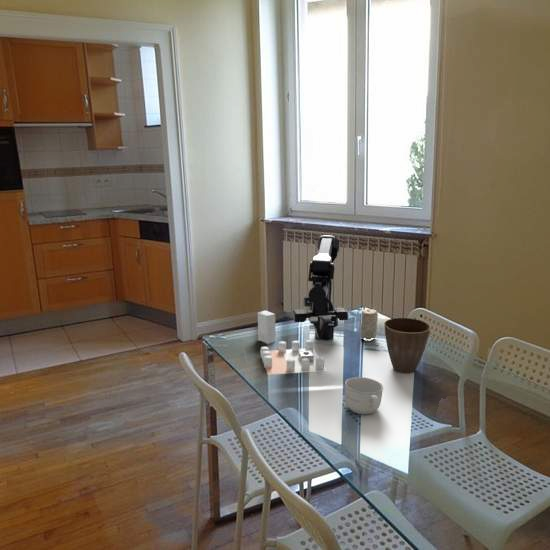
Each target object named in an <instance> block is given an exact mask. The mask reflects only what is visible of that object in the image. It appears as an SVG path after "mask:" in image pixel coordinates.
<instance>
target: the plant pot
mask: <svg viewBox="0 0 550 550" xmlns="http://www.w3.org/2000/svg"><path fill="white" fill-rule="evenodd" d="M383 325H384V335H385V342H386V347H387V351H388V356H389V359H390V363H391V366H392V369H393V368H394V369H393V370H394V371H395V370H396V372H398V373H400V374H412V373H415V372H416V369H417V368H418V366H419V364H420V362H421V359H422V357H423V354H424V353H425V350H426V346H427V343H428V338H429V336H430V331H431V326H430V324H429V323H427V322H425V321H423V320H421V319H415V318H409V317H394V318H389V319H387V320H385V321H384V322H383Z"/></svg>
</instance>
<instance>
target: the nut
mask: <svg viewBox="0 0 550 550" xmlns="http://www.w3.org/2000/svg"><path fill="white" fill-rule="evenodd" d="M298 358H299V359H300V361H301V359H303V358H308V359H310V362H314V355H313V353H312V352H311V351H299V357H298Z"/></svg>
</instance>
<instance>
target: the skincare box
mask: <svg viewBox="0 0 550 550" xmlns="http://www.w3.org/2000/svg"><path fill="white" fill-rule="evenodd" d="M276 331H277V330H276V314H275V313H273V312H270V311H268V310H266V309H265V310H263V311H258V312H257V334H258V338H257V339H258V342H259V341H260V342H262V343H265V344H267V345H268V344H272V343H276V341H277V339H276V338H277V337H276V335H277V334H276Z"/></svg>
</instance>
